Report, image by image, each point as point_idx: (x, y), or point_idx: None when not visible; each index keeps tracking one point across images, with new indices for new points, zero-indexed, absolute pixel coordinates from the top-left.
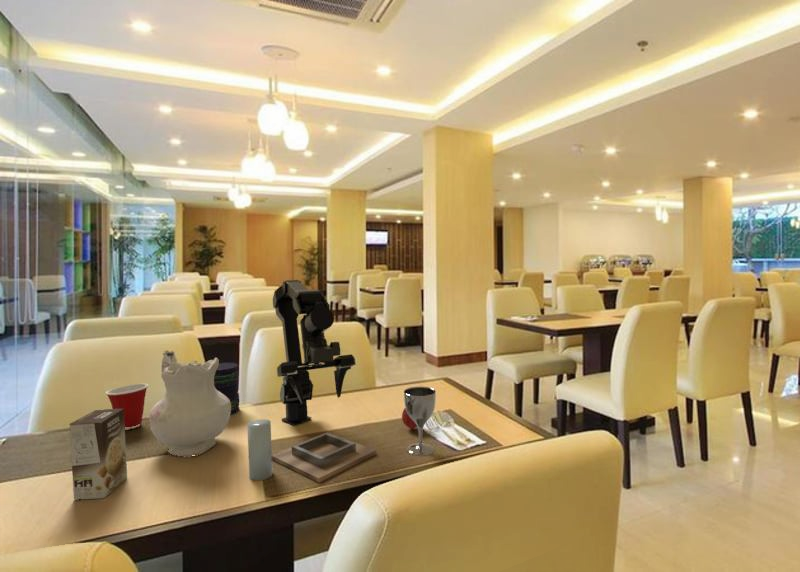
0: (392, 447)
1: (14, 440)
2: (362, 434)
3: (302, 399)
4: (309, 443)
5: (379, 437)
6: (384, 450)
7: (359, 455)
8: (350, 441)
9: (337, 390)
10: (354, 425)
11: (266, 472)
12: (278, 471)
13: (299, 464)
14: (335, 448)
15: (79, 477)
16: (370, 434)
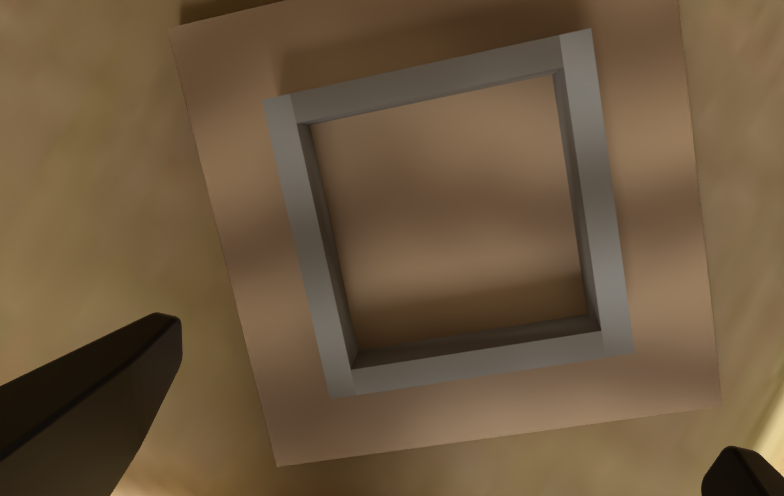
0: (47, 49)
1: None
2: None
3: (773, 485)
4: (496, 341)
5: (40, 231)
6: (110, 45)
7: (292, 30)
8: (275, 151)
9: (123, 408)
10: None
11: None
12: (759, 224)
13: (657, 171)
14: (360, 228)
15: None
16: (63, 306)
